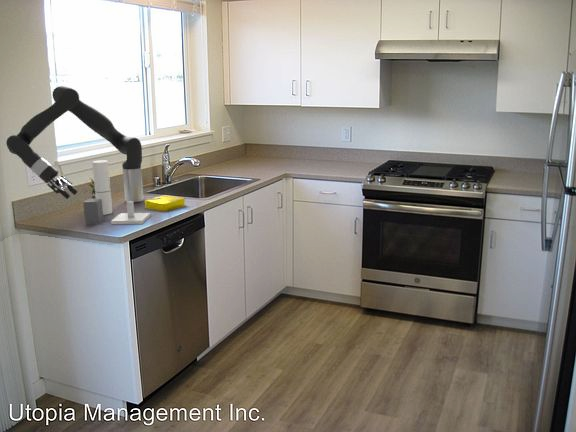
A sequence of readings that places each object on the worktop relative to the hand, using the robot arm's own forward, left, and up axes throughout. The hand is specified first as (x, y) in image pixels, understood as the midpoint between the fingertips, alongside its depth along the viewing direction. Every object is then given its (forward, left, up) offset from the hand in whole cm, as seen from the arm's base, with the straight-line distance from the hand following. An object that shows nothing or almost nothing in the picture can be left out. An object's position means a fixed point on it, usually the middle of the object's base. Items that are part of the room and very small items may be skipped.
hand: (72, 195), depth 268 cm
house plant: (-26, +1, -13) cm, 29 cm away
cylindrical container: (-17, +8, -13) cm, 22 cm away
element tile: (-29, +34, -13) cm, 47 cm away
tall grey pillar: (0, +9, -12) cm, 15 cm away
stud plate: (-3, +25, -12) cm, 28 cm away
